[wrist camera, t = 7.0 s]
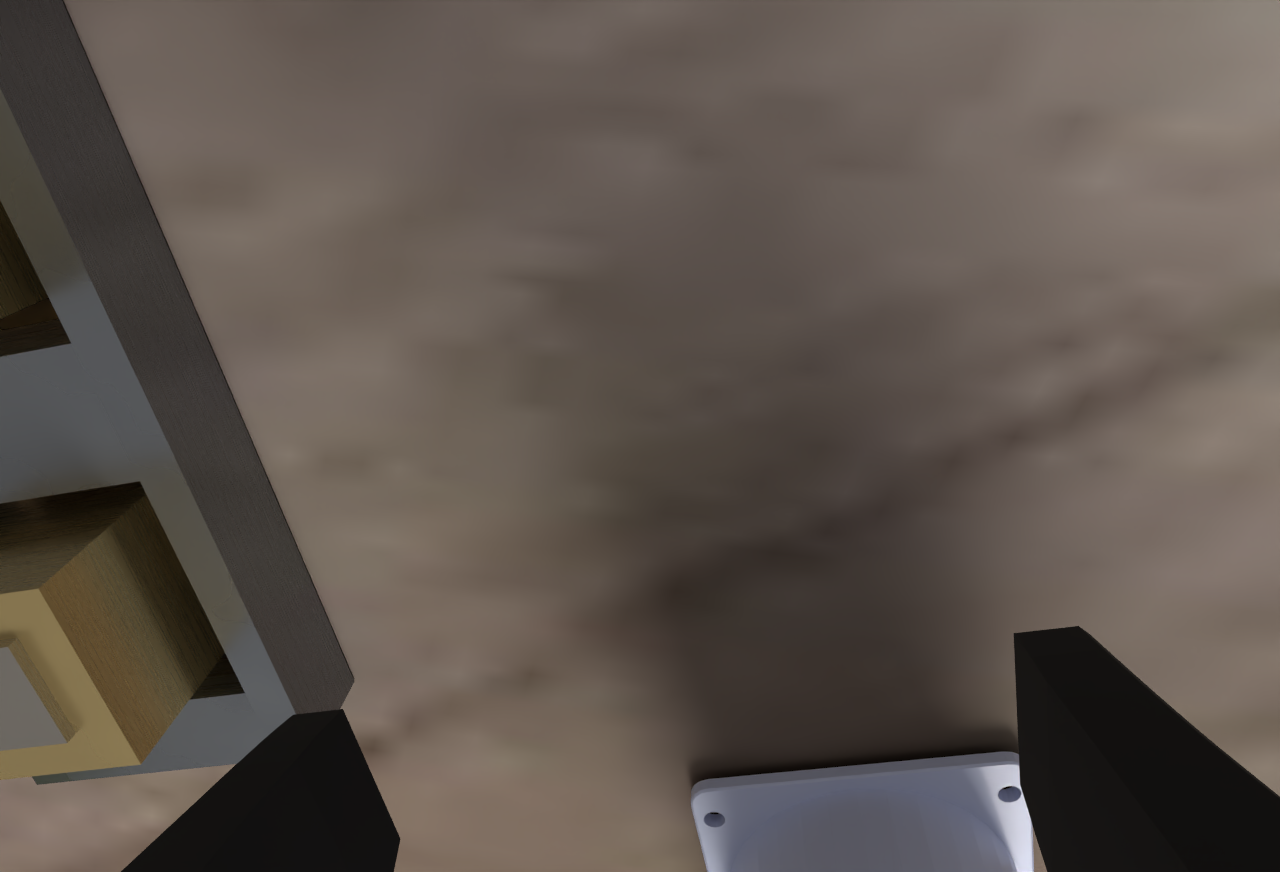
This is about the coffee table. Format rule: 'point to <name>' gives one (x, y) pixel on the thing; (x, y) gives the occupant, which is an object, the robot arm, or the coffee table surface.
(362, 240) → the coffee table surface
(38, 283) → the gold square block
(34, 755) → the tan square frame
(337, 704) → the grey slotted tray
